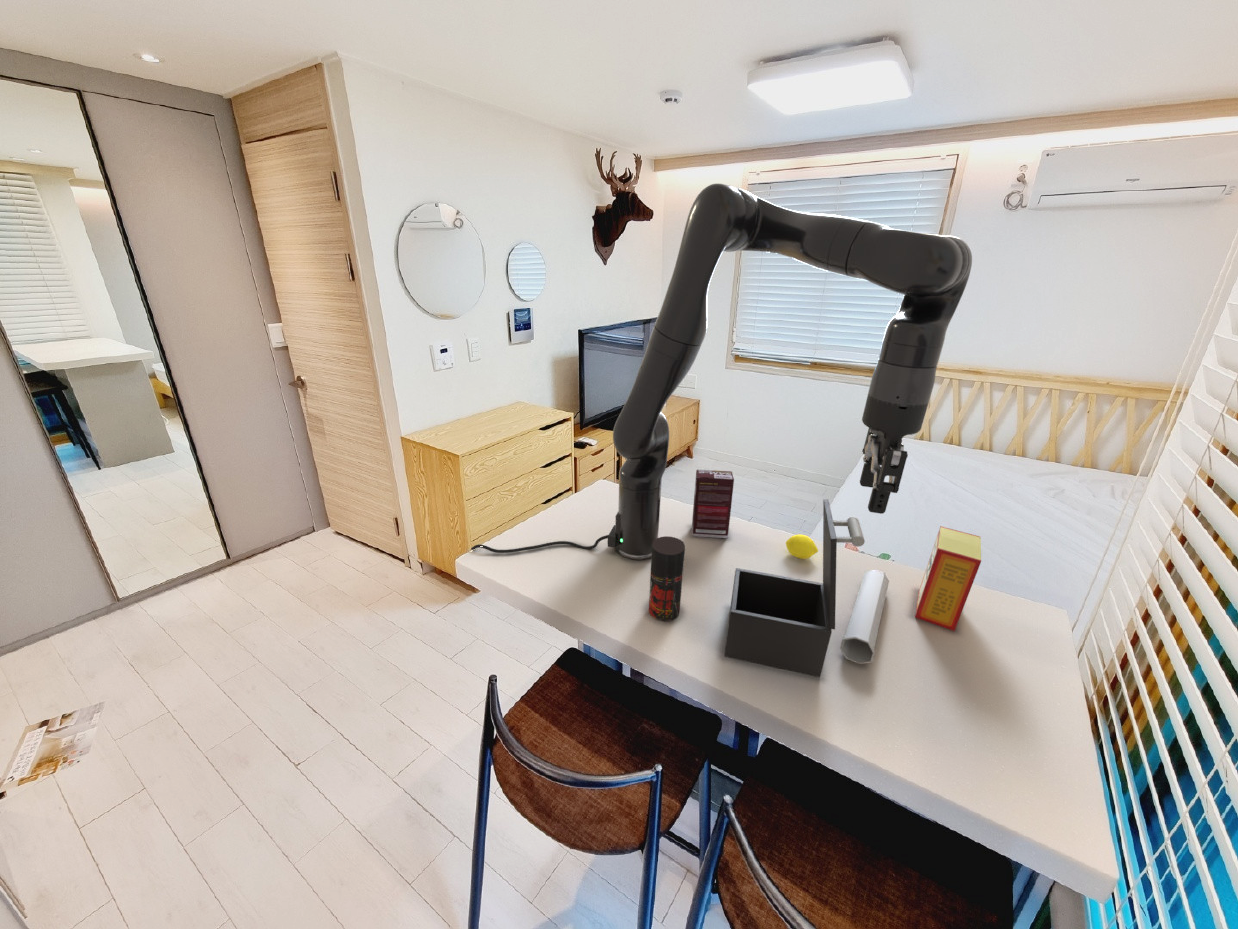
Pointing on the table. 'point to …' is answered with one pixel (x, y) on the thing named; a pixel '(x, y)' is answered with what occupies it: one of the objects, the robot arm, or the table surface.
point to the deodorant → (666, 578)
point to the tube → (865, 618)
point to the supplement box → (712, 503)
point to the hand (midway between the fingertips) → (871, 498)
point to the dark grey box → (778, 622)
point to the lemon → (801, 546)
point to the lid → (830, 554)
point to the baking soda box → (948, 577)
